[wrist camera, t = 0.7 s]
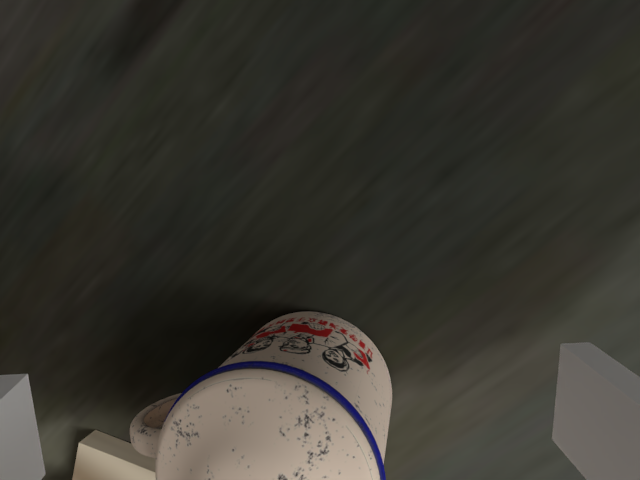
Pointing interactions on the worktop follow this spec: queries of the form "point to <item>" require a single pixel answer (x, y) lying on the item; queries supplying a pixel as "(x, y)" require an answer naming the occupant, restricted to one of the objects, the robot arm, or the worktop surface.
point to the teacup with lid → (278, 409)
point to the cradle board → (111, 460)
